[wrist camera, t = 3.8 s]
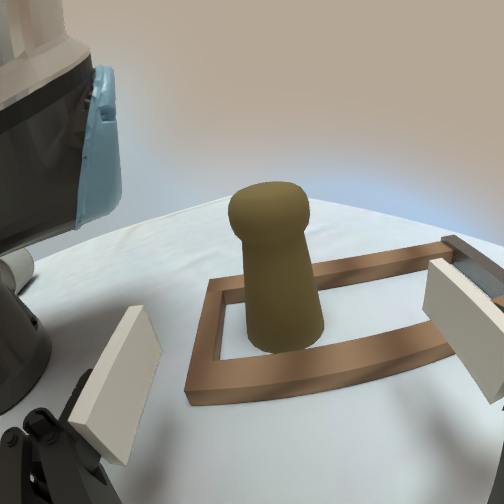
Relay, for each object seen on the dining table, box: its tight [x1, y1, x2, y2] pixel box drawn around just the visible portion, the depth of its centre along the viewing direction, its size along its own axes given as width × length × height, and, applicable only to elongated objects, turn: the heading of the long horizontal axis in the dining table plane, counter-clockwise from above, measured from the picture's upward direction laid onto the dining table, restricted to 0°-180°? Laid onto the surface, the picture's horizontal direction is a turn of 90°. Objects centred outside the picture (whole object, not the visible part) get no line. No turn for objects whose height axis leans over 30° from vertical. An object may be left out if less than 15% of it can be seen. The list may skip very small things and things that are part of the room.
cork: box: [228, 182, 324, 354], centre depth 20 cm, size 6×6×11 cm
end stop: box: [441, 235, 504, 299], centre depth 21 cm, size 2×14×2 cm, turn 1°
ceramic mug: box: [0, 248, 34, 295], centre depth 37 cm, size 11×8×8 cm
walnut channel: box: [184, 241, 504, 406], centre depth 22 cm, size 25×14×2 cm, turn 91°
